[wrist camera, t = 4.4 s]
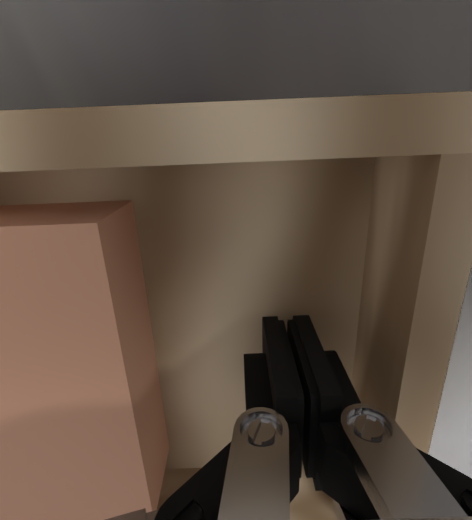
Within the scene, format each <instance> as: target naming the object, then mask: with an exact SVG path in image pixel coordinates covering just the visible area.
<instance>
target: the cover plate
mask: <svg viewBox="0 0 472 520" xmlns="http://www.w3.org/2000/svg"><path fill="white" fill-rule="evenodd" d="M168 452H169V442H168V435H167V428H166V422H165V415H164V408H163V402H162V395H161V388H160V381H159V375H158V368H157V361H156V355H155V348H154V341H153V334H152V328H151V321H150V314H149V308H148V301H147V294H146V287H145V281H144V274H143V267H142V260H141V254H140V247H139V240H138V234H137V227H136V220H135V213H134V207H133V200H125V201H100V202H75V203H49V204H24V205H0V520H105V519H108V518H112V517H116V516H119V515H123V514H126V513H130V512H133V511H137V510H140V509H144V508H146V513H148V512H151V511H155V510H157V506H158V501H159V496H160V491H161V487H162V482H163V477H164V472H165V467H166V462H167V457H168Z"/></svg>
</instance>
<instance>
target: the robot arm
mask: <svg viewBox="0 0 472 520" xmlns="http://www.w3.org/2000/svg"><path fill="white" fill-rule="evenodd" d="M244 380H245V403H246V411H245V412H243V413H241V415H240V416H239V417H238V418H237V419H236V422H235V425H234V429H233V435H232V441H231V442H230V443H229V444H228V445H227V446H225V447H224V448H223V449H222V450H221V451H220V452H219V453H218V454H217V455H215V456H214V457H213V458H212V459H211V460H210V461H209V462H208V463H207V464H205V465H204V466H203V467H202V468H201V469H200V470H199V471H198V472H197V473H195V474H194V475H193V476H192V477H191V478H190V479H189V480H188V481H187V482H185V483H184V484H183V485H182V486H181V487H180V488H179V489H178V490H176V491H175V492H174V493H173V494H172V495H171V496H170V497H169V498H168V499H167V500H166V501H165V502H164V503H163V504H162V505H161V507H160V508H159V509H158V510H155V511H151V512H148V513H146V508H144V509H140V510H137V511H133V512H130V513H126V514H123V515H119V516H116V517H112V518H108V519H105V520H290V503H291V501H292V500H293V499H294V498H295V496H296V495H297V494H298V492H299V481H300V478H301V474H302V461H303V466H304V471H305V475H306V478H313V482H314V487H315V491H323V492H324V493H326V494H327V495H328V496H330V497H331V498H332V499H333V506H334V510H335V513H336V515H337V518H338V520H472V479H471V478H470V477H468V476H466V475H464V474H462V473H461V472H459V471H457V470H455V469H453V468H452V467H450V466H448V465H446V464H444V463H443V462H441V461H439V460H437V459H435V458H434V457H432V456H430V455H428V454H427V453H425V452H423V451H421V450H419V449H418V448H416V447H415V446H414V445H413V443H412V442H411V441H410V439H409V438H408V437H407V435H406V434H405V433H404V432H403V430H402V429H401V428H400V426H399V425H398V424H397V422H396V421H395V420H394V419H393V418H392V417H391V416H390V415H389V414H388V413H387V412H385V411H384V410H382V409H381V408H378V407H376V406H373V405H370V404H364V403H361V402H360V399H359V397H358V395H357V393H356V391H355V389H354V387H353V385H352V383H351V381H350V379H349V377H348V374H347V372H346V370H345V368H344V366H343V364H342V362H341V360H340V358H339V356H338V354H337V352H336V351H335V350H329V351H324V349H323V347H322V345H321V342H320V340H319V337H318V335H317V333H316V330H315V328H314V326H313V323H312V321H311V319H310V316H309V315H293V319H292V320H288V321H287V331H286V327H285V323H284V320H278V317H277V316H268V317H262V353H251V354H244Z"/></svg>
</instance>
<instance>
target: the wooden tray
mask: <svg viewBox="0 0 472 520" xmlns="http://www.w3.org/2000/svg"><path fill="white" fill-rule="evenodd" d="M125 200H133V207H134V213H135V220H136V227H137V234H138V240H139V247H140V254H141V260H142V267H143V274H144V281H145V287H146V294H147V301H148V308H149V314H150V321H151V328H152V334H153V341H154V348H155V355H156V361H157V368H158V375H159V381H160V388H161V395H162V402H163V408H164V415H165V422H166V428H167V435H168V442H169V452H168V457H167V462H166V467H165V472H164V477H163V482H162V487H161V491H160V496H159V501H158V506H157V510H158V509H159V508H160V507H161V505H162V504H163V503H164V502H165V501H166V500H167V499H168V498H169V497H170V496H171V495H172V494H173V493H174V492H175V491H176V490H178V489H179V488H180V487H181V486H182V485H183V484H184V483H185V482H187V481H188V480H189V479H190V478H191V477H192V476H193V475H194V474H195V473H197V472H198V471H199V470H200V469H201V468H202V467H203V466H204V465H205V464H207V463H208V462H209V461H210V460H211V459H212V458H213V457H214V456H215V455H217V454H218V453H219V452H220V451H221V450H222V449H223V448H224V447H225V446H227V445H228V444H229V443H230V442H231V441H232V435H233V429H234V425H235V422H236V419H237V418H238V417H239V416H240V415H241V413H243V412H245V411H246V403H245V380H244V354H251V353H262V317H268V316H277V317H278V320H284V323H285V327H286V331H287V321H288V320H292V319H293V315H309V316H310V319H311V321H312V323H313V326H314V328H315V330H316V333H317V335H318V337H319V340H320V342H321V345H322V347H323V349H324V351H329V350H335V351H336V352H337V354H338V356H339V358H340V360H341V362H342V364H343V366H344V368H345V370H346V372H347V374H348V377H349V379H350V381H351V383H352V385H353V387H354V389H355V391H356V393H357V395H358V397H359V399H360V402H361V403H364V404H370V405H373V406H376V407H378V408H381V409H382V410H384V411H385V412H387V413H388V414H389V415H390V416H391V417H392V418H393V419H394V420H395V421H396V422H397V424H398V425H399V426H400V428H401V429H402V430H403V432H404V433H405V434H406V435H407V437H408V438H409V439H410V441H411V442H412V443H413V445H414V446H415V447H416V448H418V449H419V450H421V451H423V452H425V453H427V454H428V452H429V448H430V443H431V439H432V435H433V430H434V426H435V422H436V417H437V413H438V408H439V404H440V400H441V395H442V391H443V387H444V382H445V378H446V374H447V369H448V365H449V361H450V356H451V352H452V348H453V343H454V339H455V335H456V330H457V326H458V322H459V317H460V313H461V309H462V304H463V300H464V296H465V291H466V287H467V282H468V278H469V274H470V269H471V265H472V91H461V92H437V93H413V94H389V95H364V96H340V97H316V98H292V99H267V100H243V101H219V102H195V103H171V104H146V105H122V106H98V107H74V108H49V109H25V110H1V111H0V205H24V204H49V203H75V202H100V201H125ZM290 520H338V518H337V515H336V513H335V510H334V506H333V499H332V498H331V497H330V496H328V495H327V494H326V493H324V492H323V491H315V487H314V482H313V478H306V475H305V471H304V466H303V461H302V474H301V478H300V481H299V492H298V494H297V495H296V496H295V498H294V499H293V500H292V501H291V503H290Z"/></svg>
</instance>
